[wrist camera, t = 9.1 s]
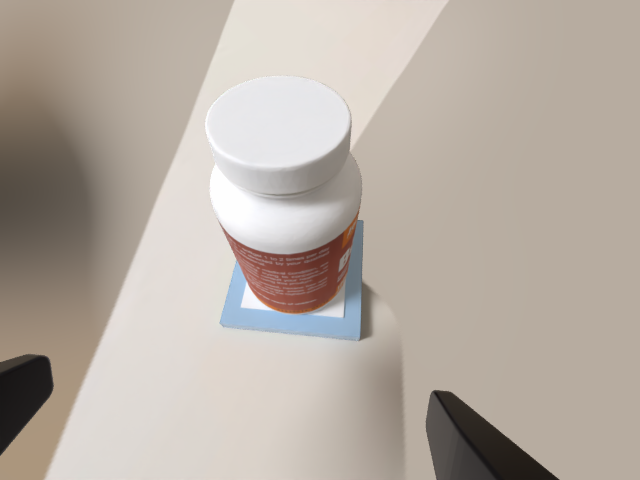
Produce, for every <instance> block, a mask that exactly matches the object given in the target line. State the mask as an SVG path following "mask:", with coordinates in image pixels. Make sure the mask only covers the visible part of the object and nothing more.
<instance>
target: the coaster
mask: <svg viewBox="0 0 640 480" xmlns="http://www.w3.org/2000/svg"><path fill="white" fill-rule="evenodd" d="M362 255H363V221H362V220H357V224H356V229H355V234H354V240H353V245H352V250H351V256H350V261H349V267H348V272H347V276H346V279H345V282H344V285H343V287H342V289H341V290H340V292H339V293H338V295H337V296H336V297H335V298H334V299H333V300H332V301H331V302H330V303H329V304H327V305H326V306H324V307H323V308H321V309H319V310H317V311H314V312H312V313H308V314H303V315H287V314H282V313H279V312H276V311H274V310H272V309H270V308H268V307H266V306H265V305H264V304H262V303H261V302H260V301H259V300H258V299H257V298H256V296H255V295H254V294H253V292H252V291H251V289H250V287H249V285H248V283H247V281H246V279H245V277H244V274H243V272H242V270H241V268H240V266H239V263H238V261H237V260H236V264H235V268H234V271H233V275H232V279H231V283H230V286H229V290H228V294H227V297H226V301H225V305H224V308H223V312H222V316H221V320H220V324H221V325H222V326H223V327H228V328H237V329H247V330H257V331H267V332H277V333H286V334H296V335H306V336H316V337H326V338H336V339H345V340H355V341H359V339H360V326H361V290H362Z"/></svg>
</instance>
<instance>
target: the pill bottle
mask: <svg viewBox="0 0 640 480" xmlns="http://www.w3.org/2000/svg"><path fill="white" fill-rule="evenodd" d="M351 123H352V121H351V113H350V110H349V107H348V105H347V104H346V102H345V100H344V99H343V98H342V97H341V96H340V95H339V94H338V93H337V92H336V91H334V90H333V89H331V88H330V87H328V86H326V85H324V84H322V83H320V82H317V81H315V80H311V79H308V78H303V77H297V76H267V77H261V78H256V79H252V80H249V81H246V82H243V83H241V84H239V85H236V86H234V87H232V88H231V89H229V90H227V91H226V92H224V93H223V94H222V95H221V96H220V97H218V98H217V100H216V101H215V102H214V103H213V104H212V106H211V107H210V109H209V111H208V114H207V117H206V121H205V128H206V135H207V138H208V141H209V143H210V146H211V149H212V152H213V157H214V160H215V163H216V164H215V167H214V169H213V172H212V176H211V180H210V197H211V202H212V206H213V208H214V211H215V214H216V216H217V219H218V221H219V223H220V225H221V227H222V229H223V231H224V234H225V236H226V238H227V240H228V242H229V244H230V246H231V248H232V250H233V253H234V255H235V257H236V259H237V261H238V263H239V266H240V268H241V270H242V272H243V274H244V277H245V279H246V281H247V283H248V285H249V287H250V289H251V291H252V292H253V294H254V295H255V296H256V298H257V299H258V300H259V301H260V302H261V303H262V304H264V305H265V306H266V307H268V308H270V309H272V310H274V311H276V312H279V313H282V314H287V315H303V314H308V313H312V312H314V311H317V310H319V309H321V308H323V307H324V306H326V305H327V304H329V303H330V302H331V301H332V300H333V299H334V298H335V297H336V296H337V295H338V293H339V292H340V290H341V289H342V287H343V285H344V282H345V279H346V276H347V272H348V267H349V261H350V256H351V250H352V245H353V240H354V234H355V229H356V224H357V219H358V214H359V209H360V203H361V195H362V178H361V173H360V170H359V167H358V165H357V163H356V160H355V159H354V157H353V156H352V154H351V153H350V152H349V150H350V137H351Z"/></svg>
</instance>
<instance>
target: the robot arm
mask: <svg viewBox="0 0 640 480" xmlns="http://www.w3.org/2000/svg"><path fill="white" fill-rule="evenodd" d="M53 387H54V385H53V377H52V370H51V363H50V360H49V358H48V357H47V356H44V355H35V354H26V355H23V356H19V357H16V358H13V359H9V360H6V361H3V362H0V456H1V454H2V453H3V452H4V451H5V450H6V448H7V447H8V446H9V445H10V443H11V442H12V441H13V440H14V439H15V438H16V436H17V435H18V434H19V433H20V432H21V430H22V429H23V428H24V427H25V426H26V424H27V423H28V422H29V421H30V419H32V417H33V416H34V415H35V414H36V412H37V411H38V410H39V409H40V408H41V406H42V405H43V404H44V403H45V402H46V401H47V399H48V398H49V397H50V395H51V393H52V391H53ZM426 432H427V437H428V441H429V446H430V451H431V455H432V460H433V465H434V470H435V474H436V479H437V480H559V479H558V478H557V477H555V476H554V475H553V474H552V473H550V472H549V471H548V470H547V469H546V468H544V467H543V466H542V465H540V464H539V463H538V462H537V461H536V460H534V459H533V458H532V457H531V456H530V455H528V454H527V453H526V452H524V451H523V450H522V449H521V448H520V447H518V446H517V445H516V444H515V443H513V442H512V441H511V440H510V439H509V438H507V437H506V436H505V435H503V434H502V433H501V432H500V431H499V430H497V429H496V428H495V427H494V426H493V425H491V424H490V423H489V422H488V421H486V420H485V419H484V418H483V417H481V416H480V415H479V414H478V413H477V412H475V411H474V410H473V409H472V408H470V407H469V406H468V405H467V404H465V403H464V402H463V401H462V400H460V399H459V398H458V397H457V396H455V395H454V394H453V393H451V392H449V391H439V390H434V391H432V393H431V395H430V400H429V405H428V411H427V418H426Z"/></svg>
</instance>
